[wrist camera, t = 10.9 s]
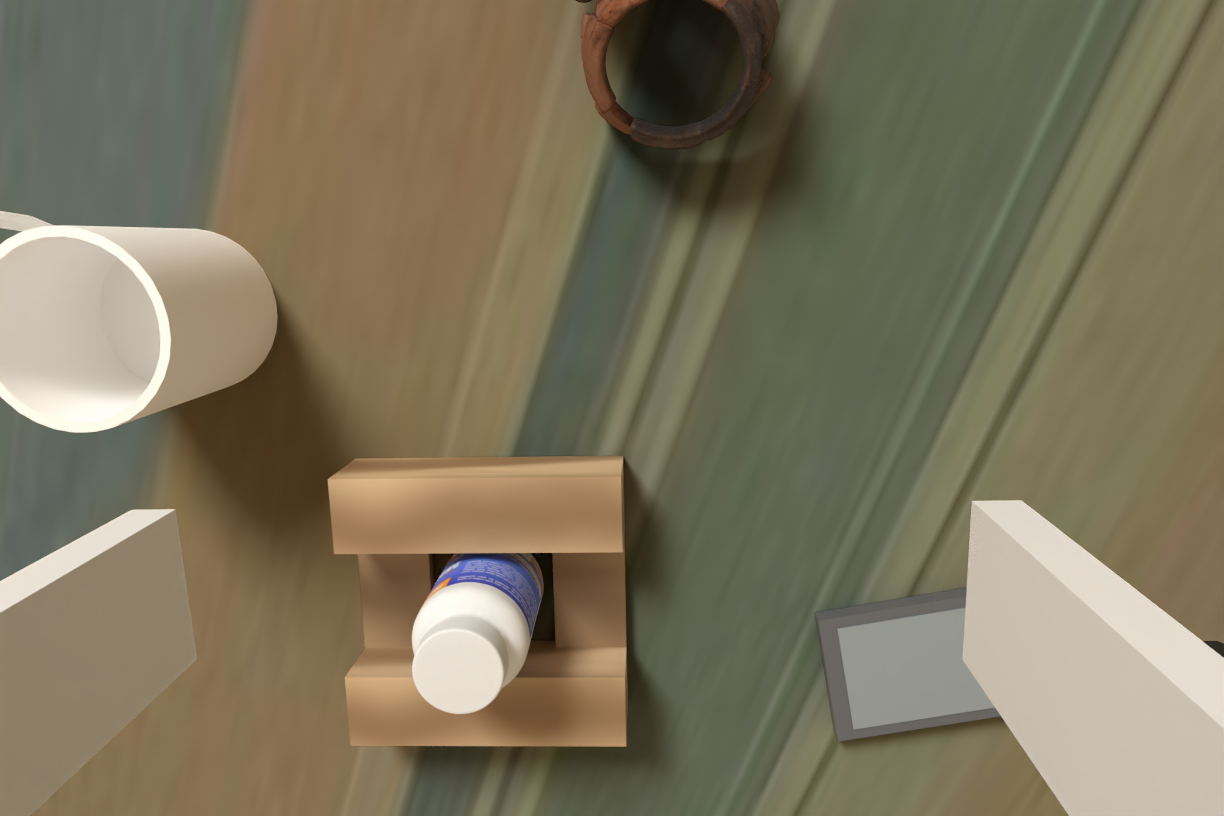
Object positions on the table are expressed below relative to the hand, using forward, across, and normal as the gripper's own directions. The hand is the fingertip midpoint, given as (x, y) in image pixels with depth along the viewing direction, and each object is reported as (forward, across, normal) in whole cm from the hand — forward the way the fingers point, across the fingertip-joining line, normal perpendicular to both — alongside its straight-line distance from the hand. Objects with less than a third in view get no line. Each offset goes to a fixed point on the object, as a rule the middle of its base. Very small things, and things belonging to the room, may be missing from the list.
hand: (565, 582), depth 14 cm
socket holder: (+29, -8, -13) cm, 33 cm away
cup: (+30, -24, +3) cm, 38 cm away
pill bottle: (+30, -8, -13) cm, 33 cm away
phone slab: (+30, +16, -17) cm, 38 cm away
